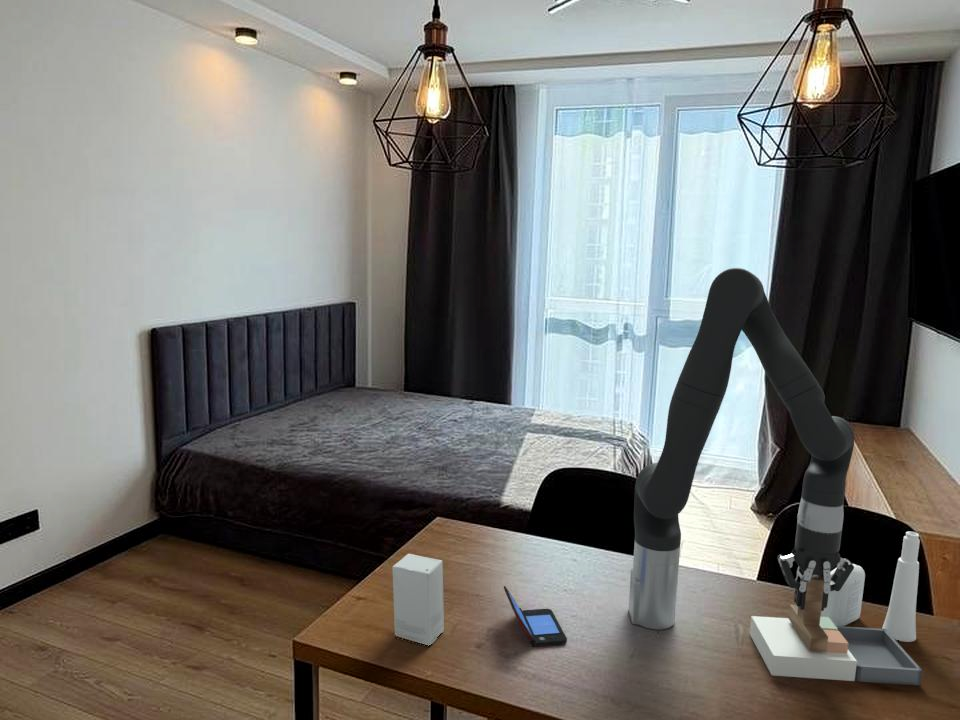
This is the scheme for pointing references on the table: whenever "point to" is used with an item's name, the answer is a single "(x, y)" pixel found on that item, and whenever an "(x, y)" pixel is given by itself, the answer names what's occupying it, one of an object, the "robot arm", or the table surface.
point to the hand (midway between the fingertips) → (810, 607)
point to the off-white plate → (797, 652)
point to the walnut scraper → (810, 616)
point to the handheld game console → (538, 625)
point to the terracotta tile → (836, 642)
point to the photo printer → (846, 599)
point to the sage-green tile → (827, 624)
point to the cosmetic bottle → (904, 592)
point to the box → (880, 657)
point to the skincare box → (418, 598)
